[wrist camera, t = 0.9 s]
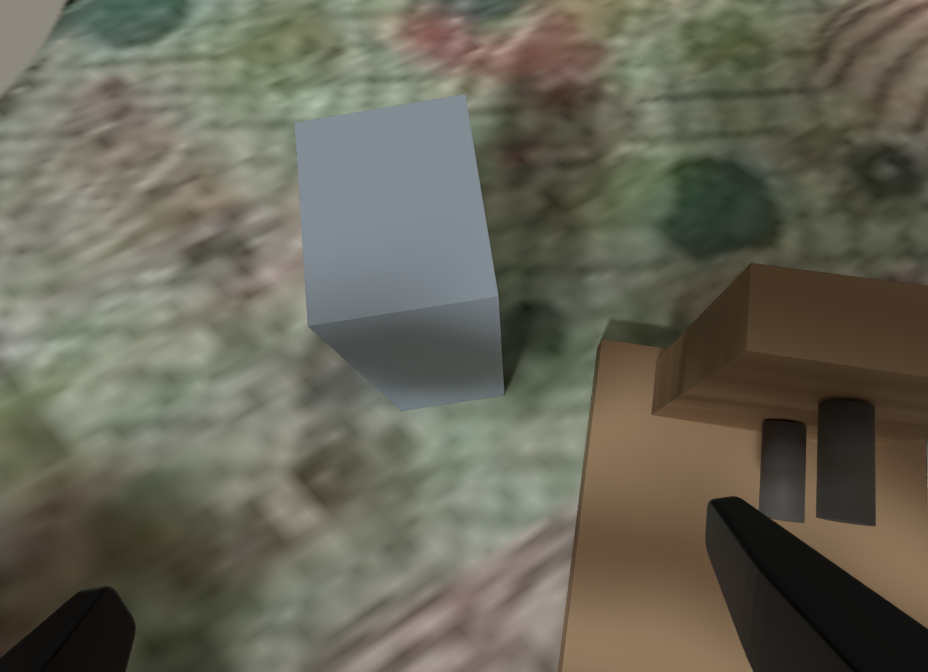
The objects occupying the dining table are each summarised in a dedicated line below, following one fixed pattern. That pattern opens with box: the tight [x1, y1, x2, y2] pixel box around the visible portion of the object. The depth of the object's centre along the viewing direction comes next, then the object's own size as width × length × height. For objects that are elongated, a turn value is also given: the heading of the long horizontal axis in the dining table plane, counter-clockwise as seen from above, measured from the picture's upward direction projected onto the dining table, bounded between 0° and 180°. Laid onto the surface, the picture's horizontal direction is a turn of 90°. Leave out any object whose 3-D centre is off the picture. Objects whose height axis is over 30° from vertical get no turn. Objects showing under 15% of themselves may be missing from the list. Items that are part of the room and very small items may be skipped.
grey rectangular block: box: [295, 94, 504, 411], centre depth 18 cm, size 5×4×11 cm
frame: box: [558, 263, 928, 672], centre depth 15 cm, size 16×11×10 cm
